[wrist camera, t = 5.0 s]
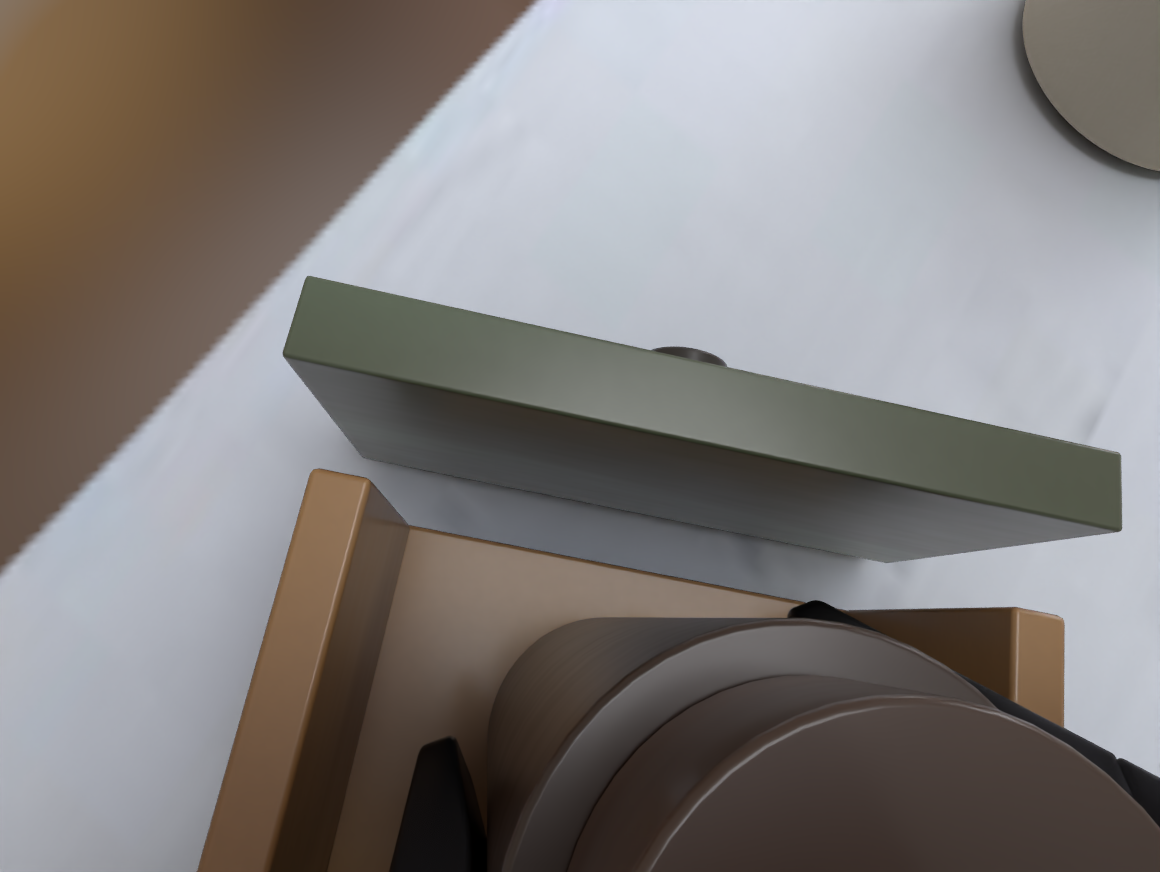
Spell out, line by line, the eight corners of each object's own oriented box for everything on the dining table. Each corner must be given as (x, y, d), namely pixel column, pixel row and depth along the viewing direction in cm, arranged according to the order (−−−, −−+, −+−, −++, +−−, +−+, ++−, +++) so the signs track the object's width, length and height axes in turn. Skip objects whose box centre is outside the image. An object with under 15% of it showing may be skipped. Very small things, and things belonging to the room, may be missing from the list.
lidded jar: (701, 885, 13) (1768, 2223, 2) (463, 846, 13) (323, 2183, 2) (731, 639, 14) (1533, 712, 3) (513, 598, 14) (606, 531, 3)
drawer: (388, 354, 16) (329, 195, 10) (895, 461, 17) (1121, 375, 11) (211, 1016, 13) (-35, 1374, 7) (852, 1107, 14) (1140, 1496, 8)
